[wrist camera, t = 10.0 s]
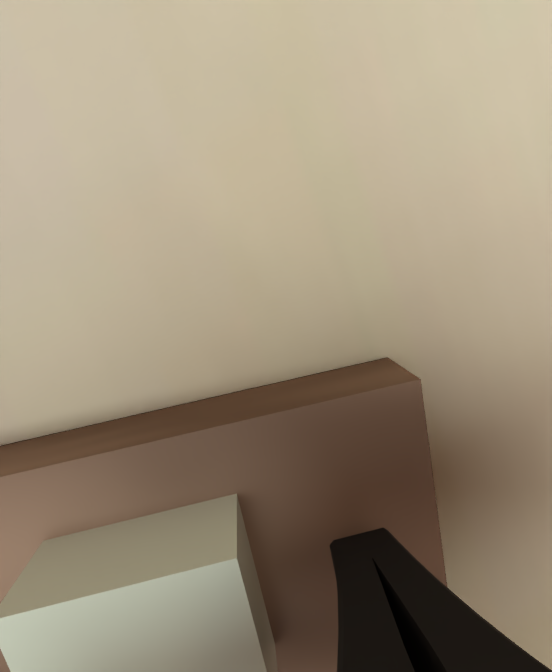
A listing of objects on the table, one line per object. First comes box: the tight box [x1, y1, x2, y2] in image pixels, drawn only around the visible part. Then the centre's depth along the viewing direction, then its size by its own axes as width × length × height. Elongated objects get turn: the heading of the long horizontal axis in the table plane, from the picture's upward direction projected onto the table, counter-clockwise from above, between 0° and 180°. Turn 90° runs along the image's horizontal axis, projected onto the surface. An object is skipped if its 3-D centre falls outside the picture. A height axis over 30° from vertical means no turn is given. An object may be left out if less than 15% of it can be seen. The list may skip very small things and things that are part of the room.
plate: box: [0, 358, 447, 672], centre depth 11 cm, size 14×14×2 cm
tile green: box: [0, 494, 278, 672], centre depth 8 cm, size 4×4×2 cm
